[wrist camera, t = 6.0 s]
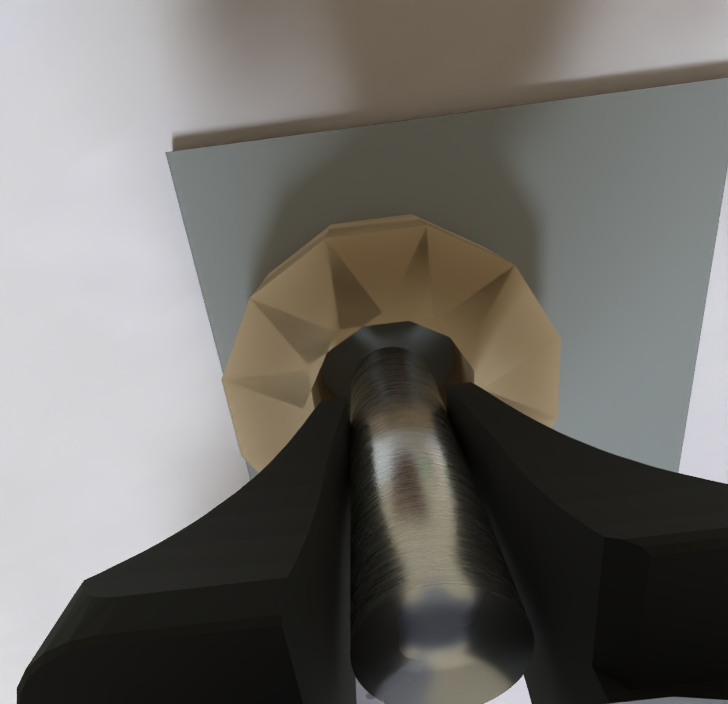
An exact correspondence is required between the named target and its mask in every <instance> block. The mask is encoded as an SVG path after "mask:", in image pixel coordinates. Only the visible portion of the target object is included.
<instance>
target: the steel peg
mask: <svg viewBox="0 0 728 704" xmlns="http://www.w3.org/2000/svg"><path fill="white" fill-rule="evenodd" d="M534 648H535V639H534V633H533V630H532V627H531V624H530V622H529V619H528V617H527V614H526V612H525V609H524V607H523V604H522V602H521V599H520V597H519V594H518V591H517V589H516V586H515V584H514V581H513V579H512V576H511V574H510V571H509V569H508V566H507V564H506V561H505V559H504V556H503V553H502V551H501V548H500V546H499V543H498V541H497V538H496V536H495V533H494V531H493V528H492V526H491V523H490V520H489V518H488V515H487V513H486V510H485V508H484V505H483V503H482V500H481V498H480V495H479V493H478V490H477V488H476V485H475V482H474V480H473V477H472V475H471V472H470V470H469V467H468V465H467V462H466V460H465V457H464V455H463V452H462V450H461V447H460V444H459V442H458V439H457V437H456V434H455V432H454V429H453V427H452V424H451V422H450V419H449V417H448V414H447V411H446V409H445V406H444V404H443V401H442V399H441V396H440V394H439V391H438V389H437V386H436V384H435V381H434V379H433V376H432V373H431V371H430V368H429V367H428V365H427V363H426V362H425V361H424V360H423V359H422V358H421V357H420V356H419V355H418V354H416V353H415V352H413V351H411V350H408V349H406V348H402V347H384V348H380V349H377V350H375V351H373V352H371V353H369V354H368V355H366V356H365V357H364V358H363V359H361V361H360V362H359V363H358V364H357V366H356V367H355V369H354V371H353V374H352V377H351V468H350V661H351V666H352V670H353V672H354V675H355V677H356V678H357V680H358V682H359V683H360V684H361V685H362V687H363V688H364V689H365V690H366V691H367V692H369V693H370V694H371V695H372V696H374V697H375V698H377V699H378V700H380V701H382V702H384V703H386V704H483V703H486V702H488V701H490V700H492V699H494V698H496V697H497V696H499V695H501V694H502V693H504V692H505V691H507V690H508V689H509V688H511V687H512V686H513V685H514V684H515V683H516V682H517V681H518V680H519V679H520V678H521V677H522V675H523V674H524V673H525V671H526V670H527V668H528V666H529V665H530V662H531V660H532V657H533V653H534Z"/></svg>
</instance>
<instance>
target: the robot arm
mask: <svg viewBox="0 0 728 704" xmlns="http://www.w3.org/2000/svg"><path fill="white" fill-rule="evenodd" d="M445 386H446V402H447V414H448V417H449V419H450V422H451V424H452V427H453V429H454V432H455V434H456V437H457V439H458V442H459V444H460V447H461V450H462V452H463V455H464V457H465V460H466V462H467V465H468V467H469V470H470V472H471V475H472V477H473V480H474V482H475V485H476V488H477V490H478V493H479V495H480V498H481V500H482V503H483V505H484V508H485V510H486V513H487V515H488V518H489V520H490V523H491V526H492V528H493V531H494V533H495V536H496V538H497V541H498V543H499V546H500V548H501V551H502V553H503V556H504V559H505V561H506V564H507V566H508V569H509V571H510V574H511V576H512V579H513V581H514V584H515V586H516V589H517V591H518V594H519V597H520V599H521V602H522V604H523V607H524V609H525V612H526V614H527V617H528V619H529V622H530V624H531V627H532V630H533V633H534V639H535V648H534V653H533V657H532V660H531V662H530V665H529V666H528V668H527V670H526V671H525V673H524V677H525V681H526V684H527V688H528V691H529V695H530V698H531V702H532V704H728V484H724V483H719V482H715V481H710V480H706V479H702V478H697V477H693V476H689V475H684V474H680V473H676V472H672V471H668V470H665V469H661V468H657V467H653V466H650V465H647V464H643V463H640V462H637V461H634V460H631V459H627V458H624V457H621V456H618V455H615V454H612V453H609V452H606V451H603V450H601V449H598V448H596V447H593V446H591V445H588V444H586V443H583V442H581V441H578V440H576V439H573V438H571V437H569V436H566V435H564V434H562V433H560V432H558V431H556V430H554V429H552V428H550V427H548V426H546V425H544V424H542V423H540V422H538V421H536V420H534V419H532V418H530V417H529V416H527V415H525V414H523V413H521V412H520V411H518V410H516V409H515V408H513V407H511V406H510V405H508V404H506V403H505V402H503V401H501V400H500V399H498V398H497V397H495V396H493V395H492V394H490V393H489V392H487V391H485V390H484V389H482V388H481V387H479V386H477V385H476V384H474V383H472V382H466V383H458V384H450V385H445ZM350 468H351V424H350V417H349V411H348V404H347V398H346V397H343V398H334V399H326V400H321V401H320V403H319V404H318V405H317V406H316V408H315V409H314V410H313V412H312V413H311V414H310V416H309V417H308V418H307V420H306V421H305V422H304V424H303V425H302V426H301V427H300V429H299V430H298V431H297V432H296V434H295V435H294V436H293V437H292V439H291V440H290V441H289V442H288V443H287V445H286V446H285V447H284V448H283V449H282V450H281V451H280V452H279V453H278V454H277V455H276V456H275V458H274V459H273V460H272V461H271V462H270V463H269V464H268V465H267V466H266V467H265V468H264V469H263V470H262V471H261V472H259V473H258V474H257V475H256V476H255V477H254V478H253V479H252V480H250V481H249V482H248V483H247V484H246V485H245V486H243V487H242V488H241V489H240V490H239V491H237V492H236V493H235V494H233V495H232V496H231V497H229V498H228V499H226V500H225V501H224V502H222V503H221V504H220V505H218V506H217V507H215V508H214V509H213V510H211V511H210V512H208V513H207V514H206V515H204V516H203V517H201V518H200V519H198V520H197V521H195V522H194V523H192V524H190V525H189V526H187V527H186V528H184V529H182V530H181V531H179V532H177V533H176V534H174V535H172V536H171V537H169V538H167V539H165V540H164V541H162V542H160V543H158V544H157V545H155V546H153V547H151V548H149V549H147V550H146V551H144V552H142V553H140V554H138V555H136V556H134V557H132V558H130V559H128V560H126V561H124V562H121V563H119V564H117V565H115V566H113V567H111V568H109V569H107V570H105V571H103V572H101V573H99V574H97V575H95V576H93V577H90V578H88V579H86V580H84V582H83V583H82V584H81V586H80V587H79V589H78V590H77V592H76V593H75V595H74V596H73V598H72V599H71V601H70V602H69V604H68V605H67V607H66V608H65V610H64V611H63V613H62V615H61V616H60V618H59V619H58V621H57V622H56V624H55V625H54V627H53V628H52V630H51V631H50V633H49V635H48V636H47V638H46V639H45V641H44V642H43V644H42V645H41V647H40V648H39V650H38V651H37V653H36V655H35V656H34V658H33V659H32V661H31V662H30V664H29V665H28V667H27V668H26V670H25V672H24V674H23V676H22V678H21V681H20V683H19V685H18V687H17V704H384V702H382V701H380V700H378V699H377V698H375V697H374V696H372V695H371V694H370V693H369V692H367V691H366V690H365V689H364V688H363V687H362V685H361V684H360V683H359V682H358V680H357V678H356V677H355V675H354V672H353V670H352V666H351V661H350Z"/></svg>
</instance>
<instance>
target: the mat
mask: <svg viewBox="0 0 728 704" xmlns="http://www.w3.org/2000/svg"><path fill="white" fill-rule="evenodd" d="M165 153H166V156H167V160H168V164H169V168H170V172H171V176H172V179H173V183H174V187H175V191H176V195H177V199H178V203H179V206H180V210H181V214H182V218H183V222H184V226H185V229H186V233H187V237H188V241H189V245H190V249H191V253H192V256H193V260H194V264H195V268H196V272H197V276H198V279H199V283H200V287H201V291H202V295H203V299H204V303H205V306H206V310H207V314H208V318H209V322H210V326H211V329H212V333H213V337H214V341H215V345H216V349H217V353H218V356H219V360H220V364H221V368H222V372H223V374H224V371H225V368H226V365H227V363H228V360H229V357H230V354H231V351H232V348H233V345H234V342H235V339H236V336H237V333H238V331H239V328H240V325H241V322H242V319H243V316H244V313H245V310H246V307H247V304H248V302H249V299H250V297H251V296H252V295H253V293H254V292H255V291H256V290H257V288H258V287H259V286H260V284H261V283H262V282H263V281H264V279H265V278H266V277H267V276H268V274H269V273H270V272H271V271H273V270H274V269H275V268H276V267H278V266H279V265H280V264H281V263H283V262H284V261H285V260H286V259H288V258H289V257H290V256H291V255H293V254H294V253H295V252H296V251H298V250H299V249H300V248H301V247H303V246H304V245H305V244H307V243H308V242H309V241H310V240H312V239H313V238H314V237H315V236H317V235H318V234H319V233H320V232H322V231H323V230H324V229H325V228H327V227H328V226H329V225H330V224H336V223H344V222H352V221H360V220H367V219H375V218H383V217H391V216H399V215H406V214H413V215H415V216H417V217H419V218H421V219H424V220H426V221H428V222H430V223H433V224H435V225H437V226H439V227H442V228H444V229H446V230H448V231H450V232H453V233H455V234H457V235H459V236H462V237H464V238H466V239H468V240H470V241H473V242H475V243H477V244H479V245H482V246H483V247H485V248H487V249H489V250H490V251H492V252H494V253H496V254H497V255H499V256H501V257H502V258H504V259H506V260H508V261H509V262H511V263H513V264H514V265H515V266H516V267H517V269H518V270H519V272H520V274H521V275H522V277H523V278H524V280H525V282H526V283H527V285H528V286H529V288H530V290H531V291H532V293H533V294H534V296H535V298H536V299H537V301H538V302H539V304H540V305H541V307H542V309H543V310H544V312H545V313H546V315H547V317H548V318H549V320H550V321H551V323H552V325H553V326H554V328H555V329H556V331H557V333H558V334H559V336H560V337H561V349H560V373H559V398H558V418H557V420H556V421H555V423H554V424H553V426H552V429H554V430H556V431H558V432H560V433H562V434H564V435H566V436H569V437H571V438H573V439H576V440H578V441H581V442H583V443H586V444H588V445H591V446H593V447H596V448H598V449H601V450H603V451H606V452H609V453H612V454H615V455H618V456H621V457H624V458H627V459H631V460H634V461H637V462H640V463H643V464H647V465H650V466H653V467H657V468H661V469H665V470H668V471H672V472H676V473H678V470H679V464H680V458H681V452H682V446H683V439H684V433H685V427H686V421H687V415H688V408H689V402H690V396H691V390H692V384H693V377H694V371H695V365H696V359H697V353H698V346H699V340H700V334H701V328H702V322H703V316H704V309H705V303H706V297H707V291H708V285H709V278H710V272H711V266H712V260H713V254H714V247H715V241H716V235H717V229H718V223H719V217H720V210H721V204H722V198H723V192H724V186H725V179H726V173H727V167H728V78H720V79H713V80H705V81H698V82H690V83H683V84H675V85H668V86H660V87H653V88H645V89H638V90H630V91H623V92H615V93H608V94H600V95H592V96H585V97H577V98H570V99H562V100H555V101H547V102H540V103H532V104H525V105H517V106H510V107H502V108H495V109H487V110H480V111H472V112H465V113H457V114H450V115H442V116H435V117H427V118H420V119H412V120H405V121H397V122H390V123H382V124H375V125H367V126H360V127H352V128H345V129H337V130H329V131H322V132H314V133H307V134H299V135H292V136H284V137H277V138H269V139H262V140H254V141H247V142H239V143H232V144H224V145H217V146H209V147H202V148H194V149H187V150H179V151H172V152H165ZM384 347H402V348H406V349H408V350H411V351H413V352H415V353H416V354H418V355H419V356H420V357H421V358H422V359H423V360H424V361H425V362H426V363H427V365H428V367H429V368H430V371H431V373H432V376H433V379H434V381H435V384H436V386H437V389H438V391H440V389H441V387H442V385H443V383H444V381H445V379H446V378H447V376H448V374H449V372H450V370H451V368H452V366H453V358H452V339H451V338H450V337H448V336H446V335H443V334H441V333H438V332H436V331H433V330H431V329H428V328H426V327H424V326H421V325H419V324H416V323H414V322H411V321H402V322H394V323H386V324H378V325H370V326H363V327H362V328H360V329H359V330H357V331H356V332H355V333H353V334H352V335H351V336H349V337H348V338H346V339H345V340H344V341H342V342H341V343H340V344H338V345H337V346H335V347H334V348H333V349H331V350H330V351H328V352H327V354H326V356H325V359H324V361H323V363H322V366H321V367H322V373H323V379H324V382H325V383H326V384H327V386H328V387H329V388H330V389H331V390H332V391H333V392H334V394H335V395H336V396H337V397H338V398H343V397H346V398H347V404H348V407H350V408H351V377H352V374H353V371H354V369H355V367H356V366H357V364H358V363H359V362H360V361H361V359H363V358H364V357H365V356H366V355H368V354H369V353H371V352H373V351H375V350H377V349H380V348H384ZM246 464H247V468H248V472H249V476H250V479H251V480H252V479H253V478H254V477H255V476H256V475H257V474H258V473H259V472H258V471H257V470H256V469H255V468H253V467H252V466H251V465H250V464H249V463H248V462H247V461H246Z"/></svg>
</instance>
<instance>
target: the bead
mask: <svg viewBox="0 0 728 704" xmlns="http://www.w3.org/2000/svg"><path fill="white" fill-rule="evenodd" d="M402 321H411V322H414V323H416V324H419V325H421V326H424V327H426V328H428V329H431V330H433V331H436V332H438V333H441V334H443V335H446V336H448V337H450V338H451V339H452V358H453V366H452V368H451V370H450V372H449V374H448V376H447V378H446V379H445V381H444V383H443V385H442V387H441V389H440V391H439V394H440V396H441V399H442V401H443V404H444V406H445V409H446V411H447V402H446V386H445V385H450V384H458V383H466V382H472V383H474V384H476V385H477V386H479V387H481V388H482V389H484V390H485V391H487V392H489V393H490V394H492V395H493V396H495V397H497V398H498V399H500V400H501V401H503V402H505V403H506V404H508V405H510V406H511V407H513V408H515V409H516V410H518V411H520V412H521V413H523V414H525V415H527V416H529V417H530V418H532V419H534V420H536V421H538V422H540V423H542V424H544V425H546V426H548V427H550V428H552V426H553V424H554V423H555V421H556V420H557V418H558V398H559V373H560V349H561V337H560V336H559V334H558V333H557V331H556V329H555V328H554V326H553V325H552V323H551V321H550V320H549V318H548V317H547V315H546V313H545V312H544V310H543V309H542V307H541V305H540V304H539V302H538V301H537V299H536V298H535V296H534V294H533V293H532V291H531V290H530V288H529V286H528V285H527V283H526V282H525V280H524V278H523V277H522V275H521V274H520V272H519V270H518V269H517V267H516V266H515V265H514V264H513V263H511V262H509V261H508V260H506V259H504V258H502V257H501V256H499V255H497V254H496V253H494V252H492V251H490V250H489V249H487V248H485V247H483V246H482V245H479V244H477V243H475V242H473V241H470V240H468V239H466V238H464V237H462V236H459V235H457V234H455V233H453V232H450V231H448V230H446V229H444V228H442V227H439V226H437V225H435V224H433V223H430V222H428V221H426V220H424V219H421V218H419V217H417V216H415V215H413V214H406V215H399V216H391V217H383V218H375V219H367V220H360V221H352V222H344V223H336V224H330V225H329V226H328V227H327V228H325V229H324V230H323V231H322V232H320V233H319V234H318V235H317V236H315V237H314V238H313V239H312V240H310V241H309V242H308V243H307V244H305V245H304V246H303V247H301V248H300V249H299V250H298V251H296V252H295V253H294V254H293V255H291V256H290V257H289V258H288V259H286V260H285V261H284V262H283V263H281V264H280V265H279V266H278V267H276V268H275V269H274V270H273V271H271V272H270V273H269V274H268V276H267V277H266V278H265V279H264V281H263V282H262V283H261V284H260V286H259V287H258V288H257V290H256V291H255V292H254V293H253V295H252V296H251V297H250V299H249V302H248V304H247V307H246V310H245V313H244V316H243V319H242V322H241V325H240V328H239V331H238V333H237V336H236V339H235V342H234V345H233V348H232V351H231V354H230V357H229V360H228V363H227V365H226V368H225V371H224V374H223V377H222V383H223V387H224V391H225V395H226V399H227V402H228V406H229V410H230V414H231V418H232V422H233V425H234V429H235V433H236V437H237V441H238V444H239V448H240V452H241V456H242V457H243V458H244V459H245V460H246V461H247V462H248V463H249V464H250V465H251V466H252V467H253V468H255V469H256V470H257V471H258V472H261V471H262V470H263V469H264V468H265V467H266V466H267V465H268V464H269V463H270V462H271V461H272V460H273V459H274V458H275V456H276V455H277V454H278V453H279V452H280V451H281V450H282V449H283V448H284V447H285V446H286V445H287V443H288V442H289V441H290V440H291V439H292V437H293V436H294V435H295V434H296V432H297V431H298V430H299V429H300V427H301V426H302V425H303V424H304V422H305V421H306V420H307V418H308V417H309V416H310V414H311V413H312V412H313V410H314V409H315V408H316V406H317V405H318V404H319V403H320V401H321V400H326V399H334V398H338V397H337V396H336V395H335V394H334V392H333V391H332V390H331V389H330V388H329V387H328V386H327V384H326V383H325V382H324V379H323V373H322V367H321V366H322V363H323V361H324V359H325V356H326V354H327V352H328V351H330V350H331V349H333V348H334V347H335V346H337V345H338V344H340V343H341V342H342V341H344V340H345V339H346V338H348V337H349V336H351V335H352V334H353V333H355V332H356V331H357V330H359V329H360V328H362V327H363V326H370V325H378V324H386V323H394V322H402ZM348 411H349V417H350V424H351V408H350V407H348Z"/></svg>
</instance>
